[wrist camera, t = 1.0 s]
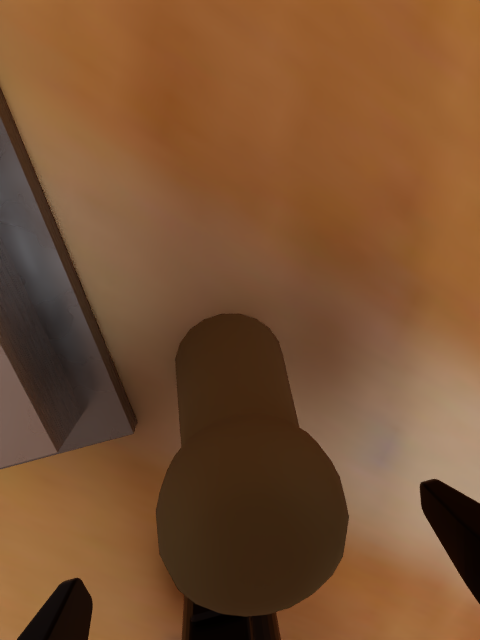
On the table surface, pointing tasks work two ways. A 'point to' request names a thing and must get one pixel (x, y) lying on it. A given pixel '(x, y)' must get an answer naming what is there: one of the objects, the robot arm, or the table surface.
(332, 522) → the cork
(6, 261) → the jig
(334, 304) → the table surface
